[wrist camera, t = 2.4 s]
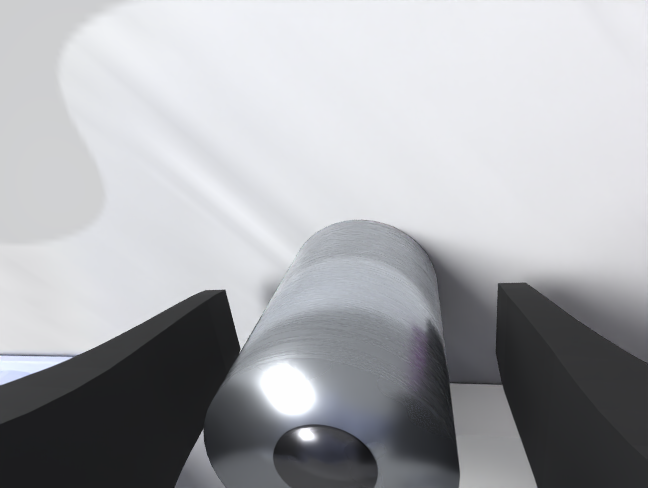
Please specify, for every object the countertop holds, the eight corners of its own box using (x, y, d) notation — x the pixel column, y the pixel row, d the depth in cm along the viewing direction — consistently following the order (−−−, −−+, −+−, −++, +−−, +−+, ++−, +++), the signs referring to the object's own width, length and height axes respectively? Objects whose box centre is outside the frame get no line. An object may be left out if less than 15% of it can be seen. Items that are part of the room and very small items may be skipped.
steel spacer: (302, 347, 14) (232, 536, 8) (279, 224, 12) (172, 359, 7) (439, 349, 13) (461, 564, 7) (435, 214, 11) (459, 364, 6)
